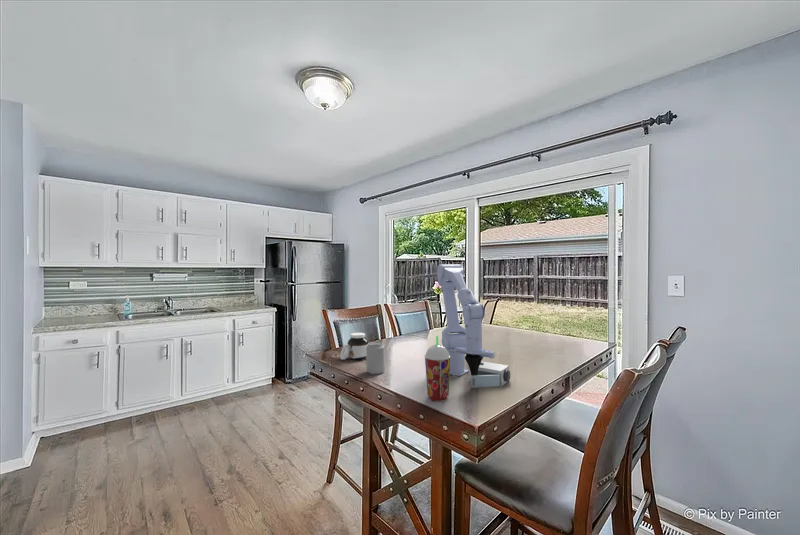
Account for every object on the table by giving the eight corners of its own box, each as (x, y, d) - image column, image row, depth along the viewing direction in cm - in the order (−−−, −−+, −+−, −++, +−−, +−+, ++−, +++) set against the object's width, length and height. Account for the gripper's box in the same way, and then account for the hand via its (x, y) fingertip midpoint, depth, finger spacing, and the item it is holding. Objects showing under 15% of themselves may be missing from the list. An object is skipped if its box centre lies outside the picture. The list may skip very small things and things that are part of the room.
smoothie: (455, 401, 107) (454, 337, 107) (430, 404, 105) (430, 339, 105) (444, 392, 115) (443, 333, 116) (421, 395, 113) (420, 334, 113)
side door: (472, 387, 118) (472, 376, 118) (471, 386, 120) (471, 375, 120) (502, 386, 119) (502, 375, 119) (500, 385, 120) (500, 374, 120)
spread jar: (371, 358, 160) (371, 333, 160) (353, 363, 152) (352, 337, 152) (354, 354, 168) (354, 331, 168) (336, 359, 160) (335, 334, 160)
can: (373, 376, 134) (373, 345, 134) (362, 372, 139) (362, 342, 139) (388, 372, 139) (388, 342, 139) (377, 368, 144) (377, 340, 144)
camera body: (469, 380, 127) (469, 364, 127) (478, 374, 134) (478, 359, 134) (504, 387, 119) (504, 369, 119) (512, 381, 126) (512, 364, 126)
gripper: (450, 337, 123) (450, 375, 123) (488, 341, 114) (489, 382, 114) (459, 334, 128) (459, 370, 128) (496, 338, 120) (497, 376, 120)
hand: (474, 375), depth 122 cm, fingers closed
